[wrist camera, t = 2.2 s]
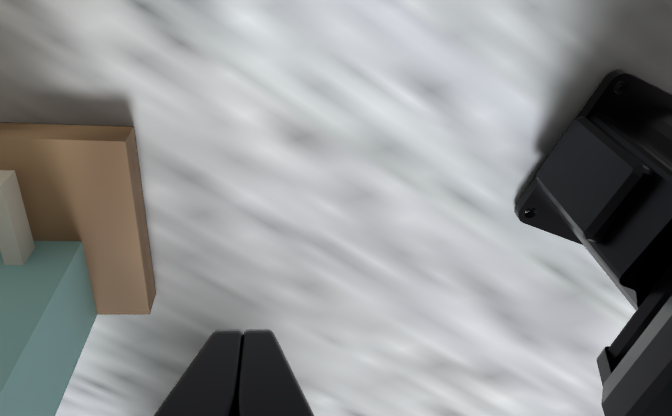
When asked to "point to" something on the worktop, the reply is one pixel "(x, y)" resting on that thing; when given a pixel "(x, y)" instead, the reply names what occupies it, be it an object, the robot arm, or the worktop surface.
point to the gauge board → (87, 203)
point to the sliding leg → (38, 310)
